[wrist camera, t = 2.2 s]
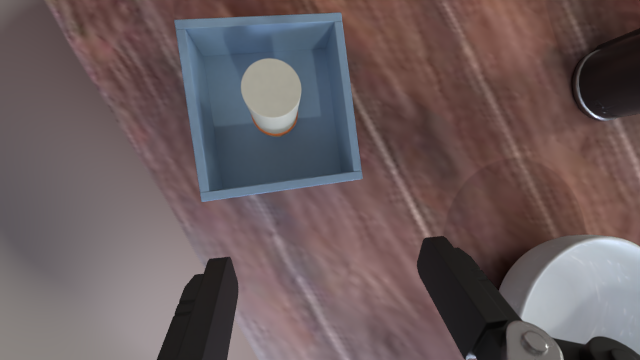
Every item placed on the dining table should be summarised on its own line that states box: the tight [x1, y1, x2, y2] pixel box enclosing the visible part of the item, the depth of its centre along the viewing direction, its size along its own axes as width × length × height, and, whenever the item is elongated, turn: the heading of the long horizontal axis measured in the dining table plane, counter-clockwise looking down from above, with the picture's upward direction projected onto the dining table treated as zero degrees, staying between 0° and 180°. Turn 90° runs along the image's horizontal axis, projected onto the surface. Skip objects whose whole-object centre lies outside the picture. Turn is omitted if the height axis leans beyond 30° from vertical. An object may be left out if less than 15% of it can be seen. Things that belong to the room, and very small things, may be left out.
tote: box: [174, 13, 362, 202], centre depth 25 cm, size 16×15×6 cm
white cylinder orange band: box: [241, 58, 301, 137], centre depth 23 cm, size 5×5×9 cm
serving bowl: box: [499, 235, 640, 355], centre depth 30 cm, size 21×21×7 cm
